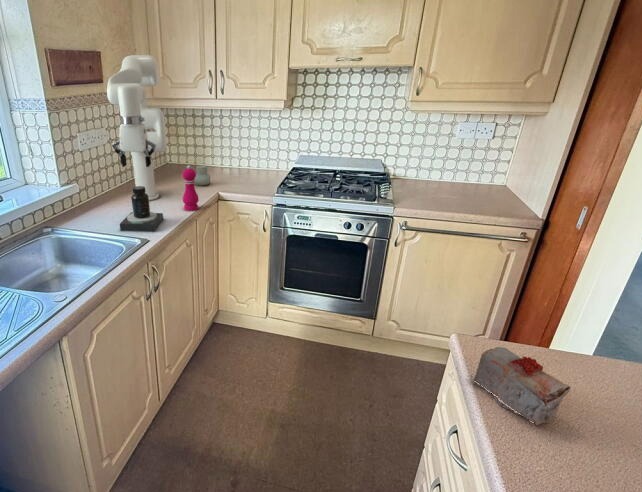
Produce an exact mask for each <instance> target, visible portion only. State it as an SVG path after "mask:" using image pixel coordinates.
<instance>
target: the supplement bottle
mask: <svg viewBox="0 0 642 492" xmlns="http://www.w3.org/2000/svg"><path fill="white" fill-rule="evenodd" d="M145 192H146V190H145V187H143V186H137V187H136V186H134V187H132V193H133V194H132V195H131V198H130V199H131V206H132V212H133V214H134V217H135V218H147V217H149V216H150V212H151V207H150V200H149V197H148V194H146V193H145Z"/></svg>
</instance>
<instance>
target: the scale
mask: <svg viewBox="0 0 642 492" xmlns="http://www.w3.org/2000/svg"><path fill="white" fill-rule="evenodd" d="M163 221H164V213H163V212H153V211H150V216H149V217H147V218H135V217H134V214H133V211H131V212H130V213H129V214H127V216H125V218H124V219H122V220H121V222H120V223H119V229H120V231H121V232H144V233H145V232H146V233H147V232H149V233H155V231H156V230H157V229H158V227H160V225H161V223H162V222H163Z"/></svg>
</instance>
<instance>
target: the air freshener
mask: <svg viewBox="0 0 642 492" xmlns="http://www.w3.org/2000/svg"><path fill="white" fill-rule="evenodd" d="M195 169H196V170H195V172H196V177H195V183H194V185H195V186H196V185H197V186H200V187H201V186H202V187H203V186H207V185H209V184H210V183H211V174H210V173H208V166H207V165H203V164H201V165H197V166H196V167H195Z"/></svg>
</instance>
